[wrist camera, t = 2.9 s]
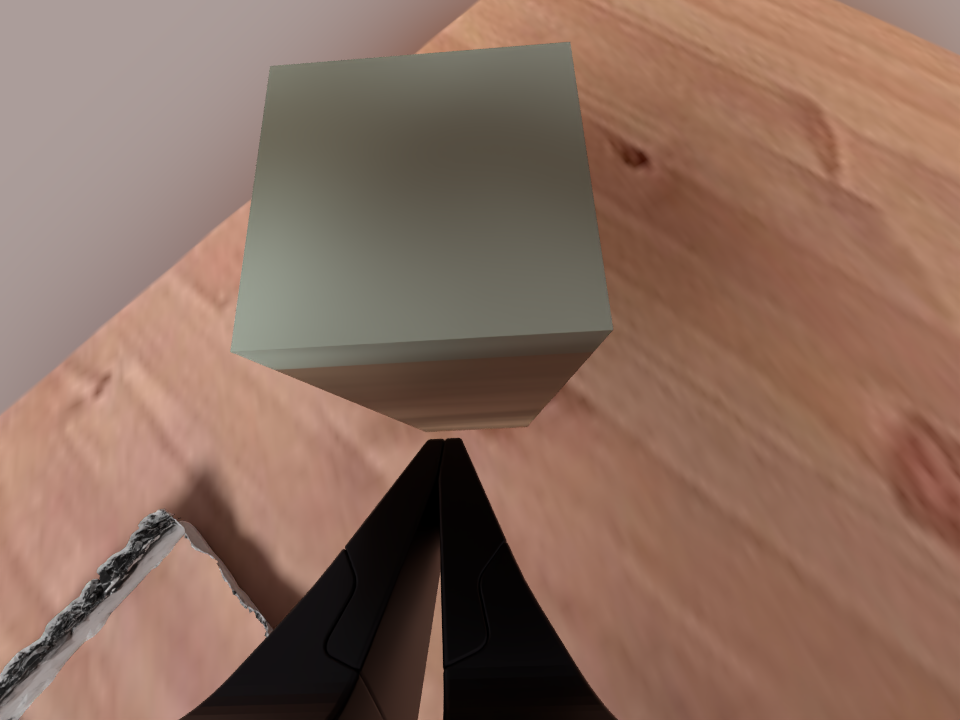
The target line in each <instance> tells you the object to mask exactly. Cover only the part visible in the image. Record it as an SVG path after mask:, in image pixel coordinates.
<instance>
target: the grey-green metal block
mask: <svg viewBox="0 0 960 720" xmlns="http://www.w3.org/2000/svg"><path fill="white" fill-rule="evenodd" d="M612 331H613V325H612V318H611V312H610V305H609V298H608V292H607V285H606V278H605V272H604V265H603V258H602V252H601V245H600V238H599V232H598V225H597V218H596V212H595V205H594V198H593V192H592V185H591V178H590V171H589V165H588V158H587V151H586V145H585V138H584V131H583V125H582V118H581V111H580V105H579V98H578V91H577V85H576V78H575V71H574V65H573V58H572V51H571V45H570V42H563V43H550V44H538V45H526V46H513V47H501V48H489V49H476V50H464V51H452V52H439V53H427V54H415V55H402V56H390V57H379V58H365V59H354V60H341V61H328V62H317V63H305V64H292V65H279V66H270V71H269V79H268V85H267V93H266V100H265V107H264V115H263V121H262V128H261V136H260V143H259V150H258V158H257V164H256V172H255V179H254V186H253V193H252V200H251V207H250V215H249V222H248V229H247V236H246V243H245V250H244V258H243V265H242V272H241V279H240V286H239V294H238V301H237V308H236V315H235V322H234V330H233V337H232V344H231V351H230V352H232V353H234V354H237V355H239V356H242V357H244V358H247V359H249V360H252V361H254V362H256V363H259V364H261V365H264V366H266V367H269V368H271V369H274V370H276V371H278V372H281V373H283V374H286V375H288V376H291V377H293V378H296V379H298V380H300V381H303V382H305V383H308V384H310V385H313V386H315V387H318V388H320V389H322V390H325V391H327V392H330V393H332V394H335V395H337V396H340V397H342V398H344V399H347V400H349V401H352V402H354V403H357V404H359V405H362V406H364V407H366V408H369V409H371V410H374V411H376V412H379V413H381V414H384V415H386V416H388V417H391V418H393V419H396V420H398V421H401V422H403V423H406V424H408V425H410V426H413V427H415V428H418V429H420V430H423V431H425V432H434V431H455V430H475V429H495V428H515V427H527V426H528V425H529V424H530V423H531V422H532V421H533V420H534V418H535V417H536V416H537V415H538V414H539V413H540V412H541V411H542V409H543V408H544V407H545V406H546V405H547V404H548V403H549V402H550V400H551V399H552V398H553V397H554V396H555V395H556V394H557V393H558V391H559V390H560V389H561V388H562V387H563V386H564V385H565V384H566V382H567V381H568V380H569V379H570V378H571V377H572V376H573V375H574V373H575V372H576V371H577V370H578V369H579V368H580V367H581V366H582V364H583V363H584V362H585V361H586V360H587V359H588V358H589V357H590V355H591V354H592V353H593V352H594V351H595V350H596V349H597V348H598V346H599V345H600V344H601V343H602V342H603V341H604V340H605V339H606V337H607V336H608V335H609V334H610V333H611V332H612Z"/></svg>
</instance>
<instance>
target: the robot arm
mask: <svg viewBox="0 0 960 720" xmlns="http://www.w3.org/2000/svg"><path fill="white" fill-rule="evenodd" d="M345 549H346V550H345ZM345 549H343V550H342V551H341V552H340V553H339V555H338V556H337V557H336V558H335V560H334V561H333V562H332V564H331V565H330V566H329V567H328V569H327V570H326V571H325V572H324V573H323V575H322V576H321V577H320V578H319V580H318V581H317V582H316V583H315V584H314V586H313V587H312V588H311V589H310V590H309V591H308V592H307V594H306V595H305V596H304V597H303V598H302V599H301V600H300V601H299V603H298V604H297V605H296V606H295V607H294V608H293V609H292V610H291V612H290V613H289V614H288V615H287V616H286V617H285V618H284V619H283V620H282V621H281V622H280V623H279V624H278V626H277V627H276V628H275V629H274V630H273V631H272V632H271V633H270V634H269V635H268V636H267V637H266V638H265V640H264V641H263V642H262V643H261V644H260V645H259V646H258V647H257V648H256V649H255V650H254V651H253V652H252V654H251V655H250V656H249V657H248V658H247V659H246V660H245V661H244V662H243V663H242V664H241V665H240V666H239V668H238V669H237V670H236V671H235V672H234V673H233V674H232V675H231V676H230V677H229V678H228V679H227V680H226V681H225V682H224V683H223V684H222V685H221V686H220V687H219V688H218V689H217V690H216V691H215V692H214V693H213V694H212V695H210V696H209V697H208V698H207V699H206V700H205V701H203V702H202V703H201V704H200V705H199V706H197V707H196V708H195V709H193V710H192V711H191V712H189V713H188V714H187V715H185V716H184V717H182V718H181V719H179V720H418V714H419V707H420V701H421V694H422V688H423V681H424V674H425V668H426V661H427V655H428V648H429V642H430V635H431V629H432V622H433V616H434V609H435V602H436V596H437V589H438V583H439V576H440V570H441V605H442V643H443V669H444V673H443V681H444V712H443V720H618V719H617V718H616V717H615V716H614V715H613V714H612V713H611V712H610V711H609V710H608V709H607V707H606V706H605V705H604V704H603V703H602V701H601V700H600V699H599V697H598V696H597V695H596V693H595V692H594V691H593V689H592V688H591V687H590V685H589V684H588V682H587V681H586V679H585V678H584V676H583V675H582V673H581V672H580V670H579V669H578V667H577V666H576V664H575V662H574V661H573V659H572V657H571V656H570V654H569V653H568V651H567V649H566V648H565V646H564V644H563V643H562V641H561V639H560V638H559V636H558V635H557V633H556V631H555V630H554V628H553V626H552V625H551V623H550V621H549V620H548V618H547V617H546V615H545V613H544V612H543V610H542V608H541V607H540V605H539V604H538V602H537V600H536V598H535V596H534V595H533V593H532V591H531V589H530V588H529V586H528V584H527V582H526V581H525V579H524V577H523V575H522V572H521V570H520V568H519V566H518V564H517V562H516V560H515V558H514V556H513V554H512V551H511V549H510V547H509V545H508V543H507V541H506V538H505V536H504V534H503V532H502V529H501V527H500V525H499V523H498V520H497V518H496V516H495V513H494V511H493V509H492V507H491V504H490V502H489V500H488V498H487V495H486V493H485V491H484V489H483V486H482V484H481V482H480V480H479V477H478V475H477V473H476V471H475V468H474V466H473V464H472V462H471V459H470V457H469V455H468V453H467V450H466V448H465V446H464V443H463V441H462V439H460V438H448V439H446V440H445V441H444V440H443V439H430V440H428V441H427V442H426V443H425V444H424V446H423V447H422V448H421V449H420V451H419V452H418V453H417V455H416V456H415V457H414V458H413V460H412V461H411V462H410V464H409V465H408V466H407V467H406V469H405V470H404V471H403V473H402V474H401V475H400V476H399V478H398V479H397V480H396V482H395V483H394V484H393V485H392V487H391V488H390V489H389V491H388V492H387V493H386V494H385V496H384V497H383V498H382V500H381V501H380V502H379V503H378V505H377V506H376V507H375V509H374V510H373V511H372V512H371V514H370V515H369V516H368V518H367V519H366V520H365V521H364V523H363V524H362V525H361V527H360V528H359V529H358V530H357V532H356V533H355V534H354V536H353V537H352V538H351V539H350V541H349V542H348V543H347V545H346V546H345Z"/></svg>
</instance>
